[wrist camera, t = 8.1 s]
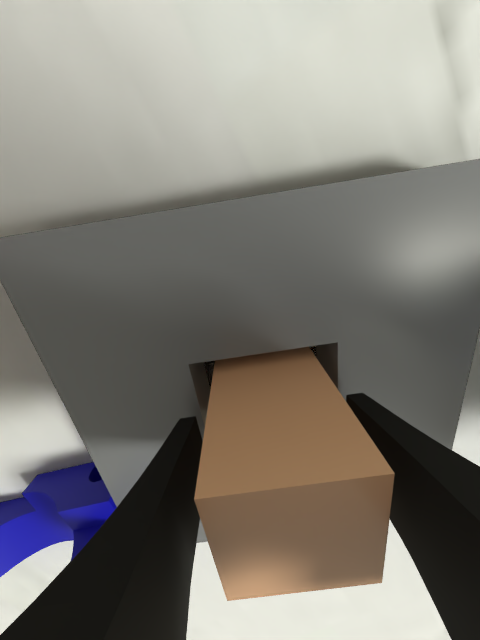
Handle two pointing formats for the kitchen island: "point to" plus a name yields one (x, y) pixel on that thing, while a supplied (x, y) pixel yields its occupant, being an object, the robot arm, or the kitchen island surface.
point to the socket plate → (256, 304)
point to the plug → (289, 480)
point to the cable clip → (54, 513)
